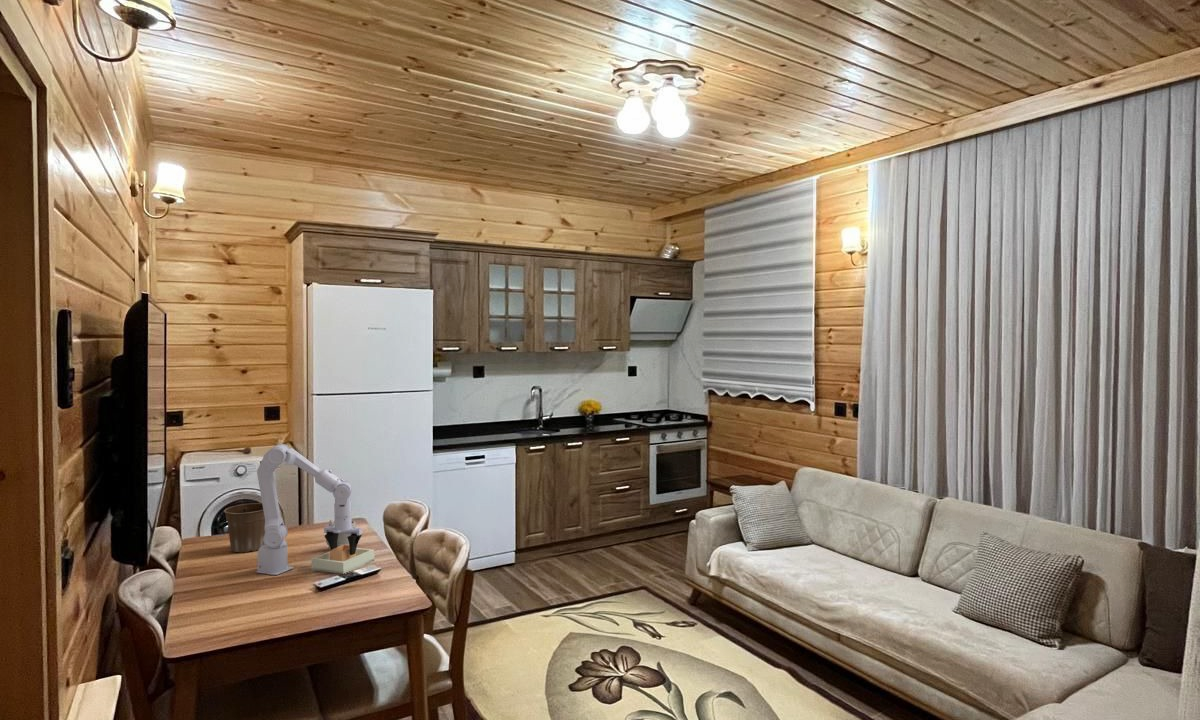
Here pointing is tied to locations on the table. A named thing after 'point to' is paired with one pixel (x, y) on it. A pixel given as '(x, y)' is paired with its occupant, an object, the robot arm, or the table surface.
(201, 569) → the table surface
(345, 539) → the mug
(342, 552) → the box
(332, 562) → the big crate
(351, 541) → the robot arm
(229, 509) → the plant pot
